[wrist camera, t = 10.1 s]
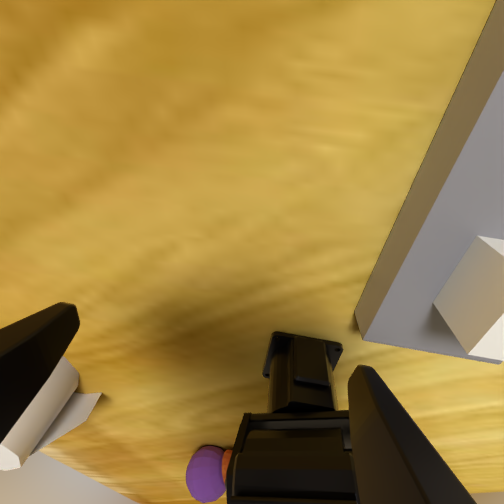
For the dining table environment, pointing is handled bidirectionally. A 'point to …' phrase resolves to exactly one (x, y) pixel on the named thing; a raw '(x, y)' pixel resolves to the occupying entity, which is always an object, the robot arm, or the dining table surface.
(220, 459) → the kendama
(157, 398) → the dining table surface
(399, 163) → the dining table surface
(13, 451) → the toilet tissue
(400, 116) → the dining table surface
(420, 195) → the power strip
